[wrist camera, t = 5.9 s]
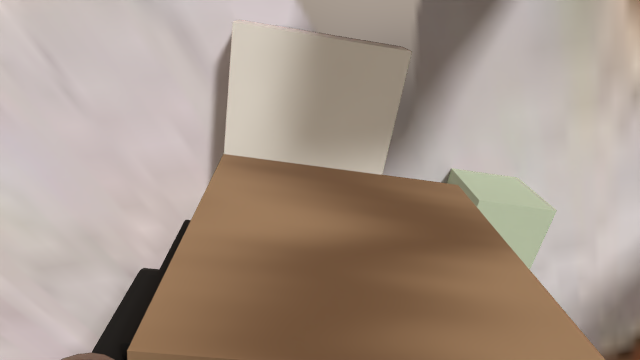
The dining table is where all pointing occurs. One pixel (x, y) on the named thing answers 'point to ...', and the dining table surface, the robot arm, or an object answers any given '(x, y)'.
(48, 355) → the dining table surface
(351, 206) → the walnut block
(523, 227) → the sage block
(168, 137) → the dining table surface
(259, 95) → the stone base
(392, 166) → the dining table surface
